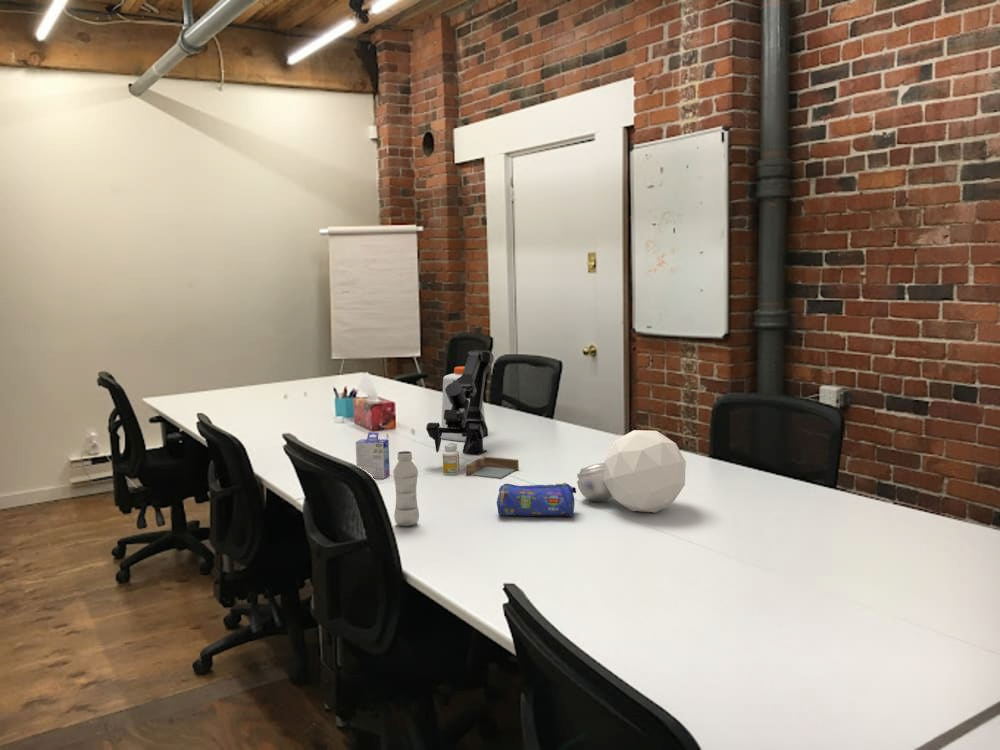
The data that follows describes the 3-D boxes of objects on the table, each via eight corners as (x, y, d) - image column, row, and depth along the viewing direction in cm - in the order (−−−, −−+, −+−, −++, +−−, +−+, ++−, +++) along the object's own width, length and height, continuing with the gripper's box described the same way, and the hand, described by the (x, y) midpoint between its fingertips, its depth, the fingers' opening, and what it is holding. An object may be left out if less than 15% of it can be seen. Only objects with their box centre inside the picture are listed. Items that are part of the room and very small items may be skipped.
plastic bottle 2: (490, 435, 338) (488, 365, 334) (468, 443, 326) (466, 370, 322) (459, 432, 346) (457, 363, 342) (436, 439, 334) (434, 368, 330)
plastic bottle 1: (394, 521, 232) (392, 450, 229) (419, 520, 233) (417, 449, 230) (394, 529, 226) (391, 456, 223) (419, 528, 226) (417, 455, 224)
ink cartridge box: (390, 474, 282) (389, 432, 280) (385, 479, 276) (383, 435, 274) (362, 473, 284) (360, 431, 282) (356, 478, 278) (354, 434, 276)
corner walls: (483, 466, 290) (483, 456, 290) (518, 469, 285) (518, 459, 284) (466, 475, 279) (465, 465, 278) (501, 479, 273) (501, 468, 273)
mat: (485, 467, 288) (485, 466, 288) (515, 470, 284) (515, 469, 283) (470, 475, 278) (470, 474, 278) (501, 479, 274) (501, 477, 274)
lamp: (671, 510, 219) (648, 421, 223) (569, 532, 240) (550, 450, 244) (711, 499, 236) (689, 417, 240) (612, 521, 257) (594, 445, 261)
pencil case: (576, 511, 239) (576, 478, 238) (576, 521, 230) (576, 486, 229) (498, 510, 241) (497, 478, 239) (495, 520, 232) (494, 486, 231)
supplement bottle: (450, 470, 286) (449, 442, 284) (462, 472, 283) (462, 443, 281) (440, 474, 281) (439, 445, 280) (452, 476, 278) (452, 447, 277)
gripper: (426, 398, 285) (417, 438, 276) (480, 400, 281) (472, 439, 272) (434, 417, 294) (425, 456, 285) (487, 419, 290) (479, 458, 281)
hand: (450, 452), depth 280 cm, fingers open, 9 cm apart
